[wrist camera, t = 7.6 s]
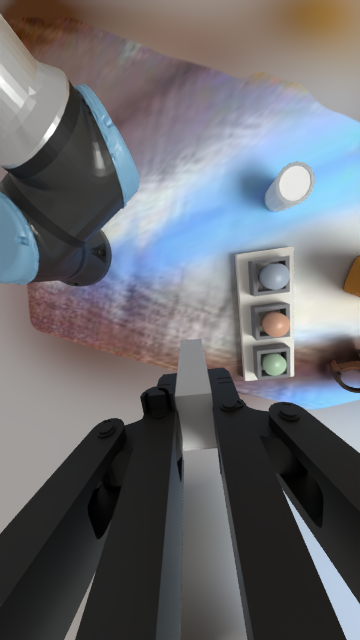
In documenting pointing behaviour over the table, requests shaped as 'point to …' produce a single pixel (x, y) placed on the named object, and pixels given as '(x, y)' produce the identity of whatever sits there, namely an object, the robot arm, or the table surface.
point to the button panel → (264, 311)
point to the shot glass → (290, 187)
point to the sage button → (273, 363)
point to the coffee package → (353, 279)
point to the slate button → (274, 276)
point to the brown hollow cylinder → (345, 367)
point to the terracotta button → (275, 324)
